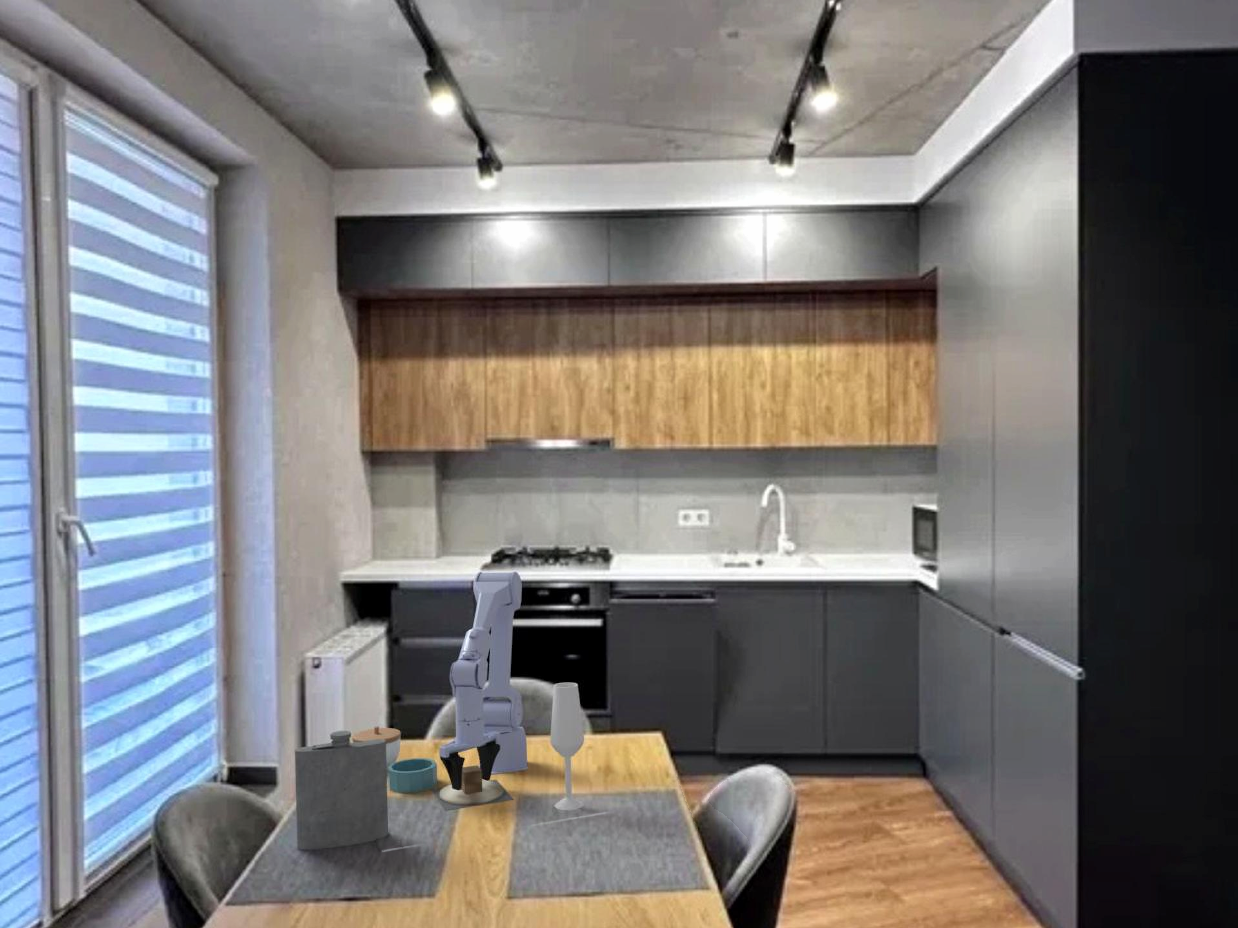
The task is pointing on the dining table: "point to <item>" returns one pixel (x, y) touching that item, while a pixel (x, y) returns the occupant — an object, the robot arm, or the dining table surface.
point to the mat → (447, 806)
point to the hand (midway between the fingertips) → (471, 784)
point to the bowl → (412, 775)
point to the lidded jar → (386, 734)
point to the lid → (472, 789)
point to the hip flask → (341, 792)
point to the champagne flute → (567, 734)
